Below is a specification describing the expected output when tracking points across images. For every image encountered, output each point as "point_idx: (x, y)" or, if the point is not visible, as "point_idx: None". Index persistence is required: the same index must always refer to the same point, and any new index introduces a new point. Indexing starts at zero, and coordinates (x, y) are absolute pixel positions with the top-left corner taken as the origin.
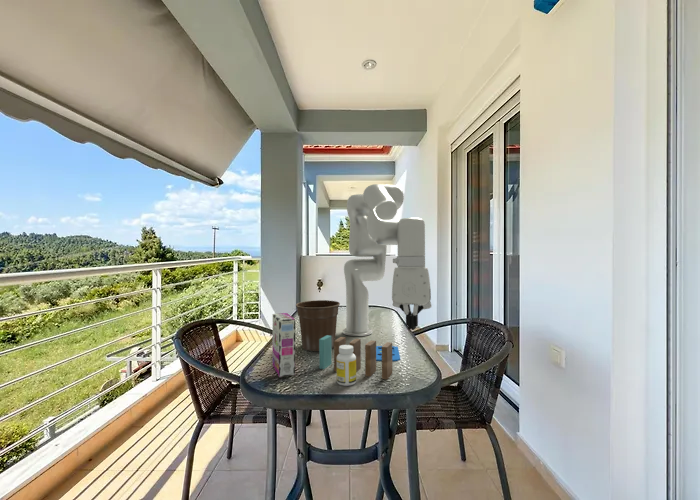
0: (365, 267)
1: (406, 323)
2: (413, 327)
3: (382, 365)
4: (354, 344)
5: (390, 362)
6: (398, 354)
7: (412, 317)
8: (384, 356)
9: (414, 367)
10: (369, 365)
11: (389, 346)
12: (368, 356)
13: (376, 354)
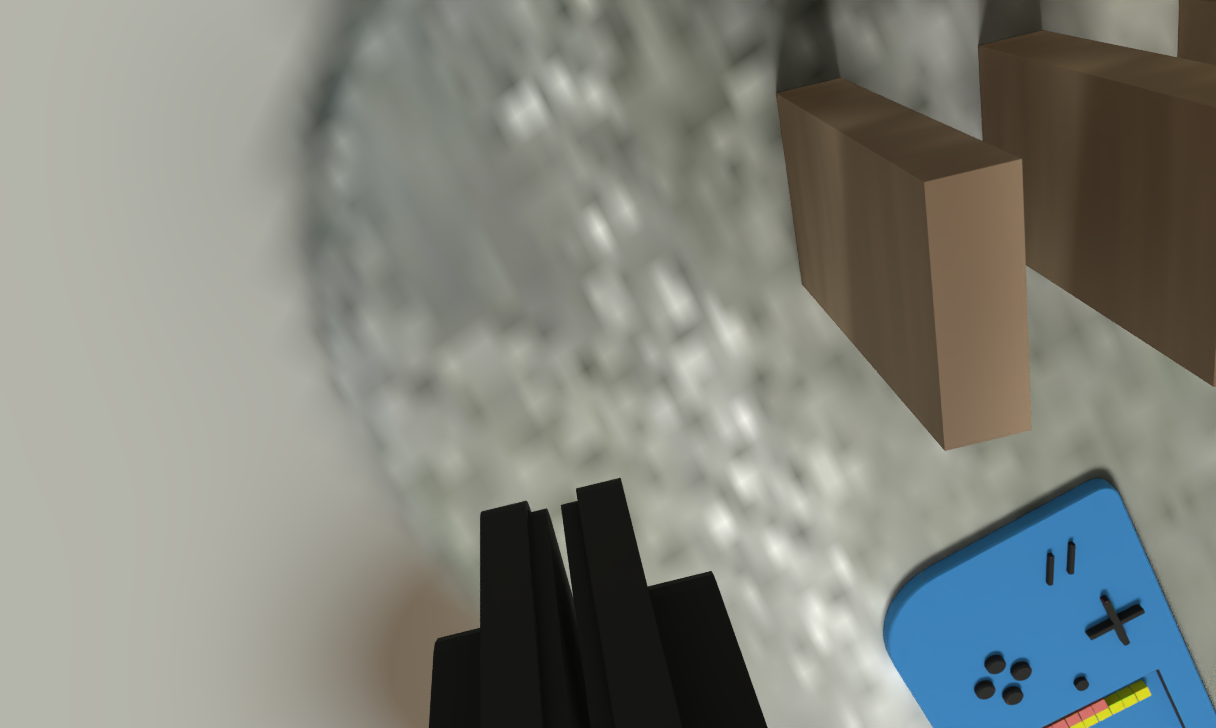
0: None
1: (702, 591)
2: (483, 545)
3: (888, 104)
4: None
5: (839, 261)
6: (944, 724)
7: (509, 726)
8: (909, 138)
9: (669, 550)
10: (1059, 59)
11: (926, 304)
12: (1144, 73)
13: (1152, 603)
